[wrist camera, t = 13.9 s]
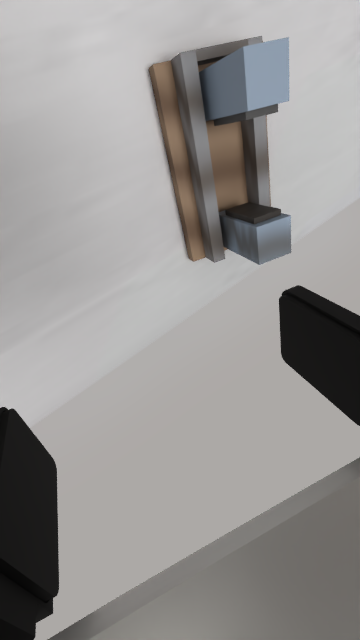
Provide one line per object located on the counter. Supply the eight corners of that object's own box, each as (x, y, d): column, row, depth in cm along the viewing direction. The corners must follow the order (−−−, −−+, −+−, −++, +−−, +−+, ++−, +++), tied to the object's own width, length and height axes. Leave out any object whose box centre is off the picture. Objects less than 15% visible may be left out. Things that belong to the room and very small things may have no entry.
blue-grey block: (194, 74, 29) (243, 46, 22) (230, 66, 30) (288, 37, 23) (202, 128, 32) (248, 119, 24) (235, 120, 33) (289, 109, 25)
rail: (148, 68, 29) (189, 30, 20) (254, 45, 31) (331, 2, 23) (188, 258, 40) (227, 286, 31) (265, 230, 42) (321, 249, 34)
